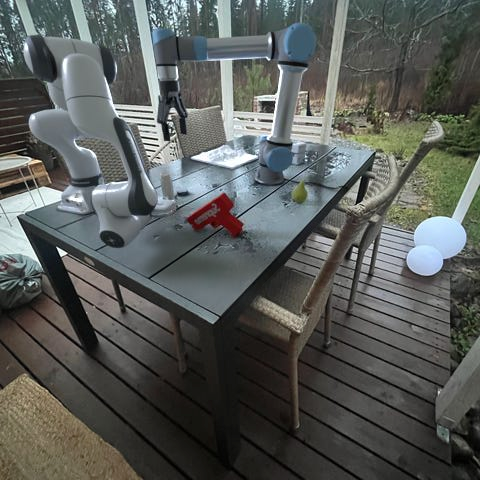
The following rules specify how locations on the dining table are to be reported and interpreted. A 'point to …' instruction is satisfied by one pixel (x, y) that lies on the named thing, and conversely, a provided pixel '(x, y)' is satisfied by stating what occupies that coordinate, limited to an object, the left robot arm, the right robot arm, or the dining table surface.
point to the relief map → (226, 157)
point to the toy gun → (216, 216)
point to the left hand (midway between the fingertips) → (154, 197)
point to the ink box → (298, 152)
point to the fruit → (300, 192)
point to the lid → (182, 192)
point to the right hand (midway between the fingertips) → (176, 137)
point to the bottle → (167, 186)
